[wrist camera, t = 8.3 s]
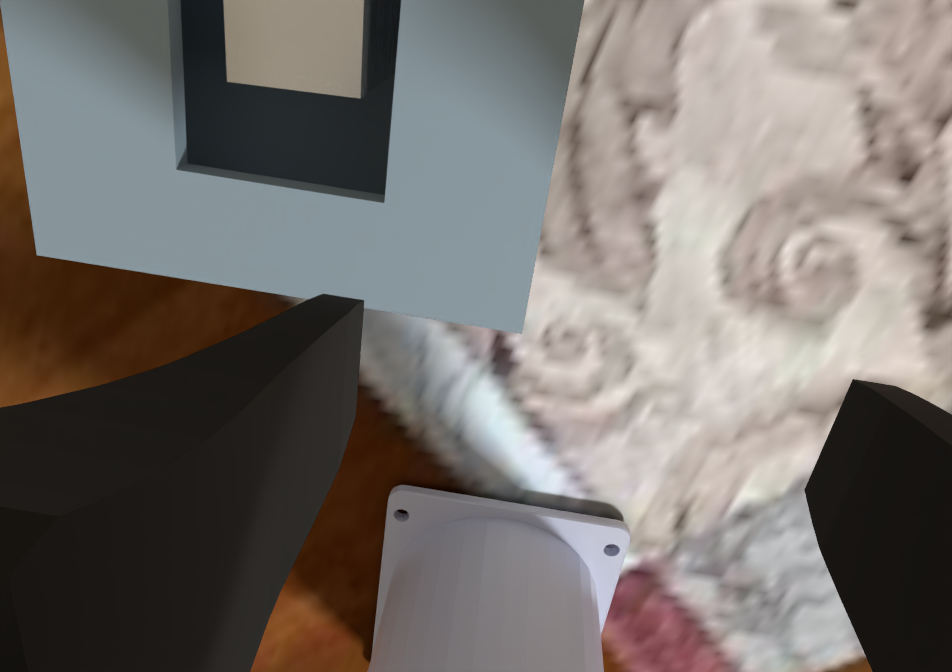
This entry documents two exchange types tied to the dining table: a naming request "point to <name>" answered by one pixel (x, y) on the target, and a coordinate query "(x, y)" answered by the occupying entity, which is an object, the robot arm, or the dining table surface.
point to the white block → (312, 44)
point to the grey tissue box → (297, 154)
